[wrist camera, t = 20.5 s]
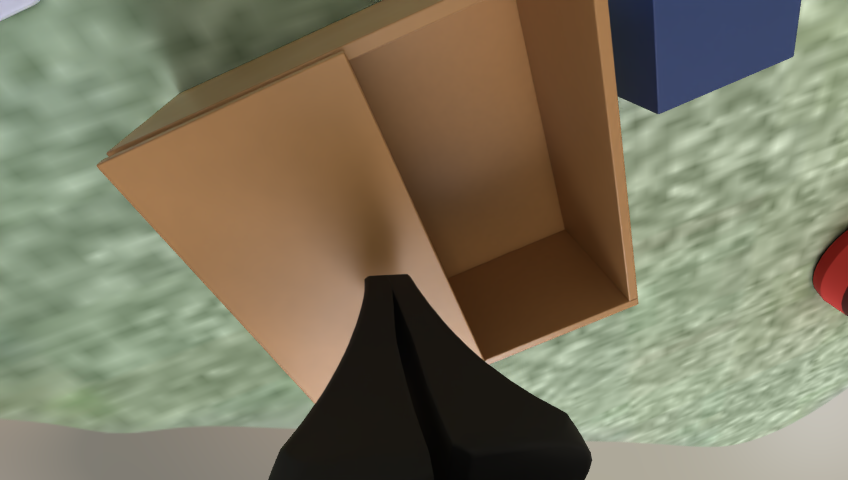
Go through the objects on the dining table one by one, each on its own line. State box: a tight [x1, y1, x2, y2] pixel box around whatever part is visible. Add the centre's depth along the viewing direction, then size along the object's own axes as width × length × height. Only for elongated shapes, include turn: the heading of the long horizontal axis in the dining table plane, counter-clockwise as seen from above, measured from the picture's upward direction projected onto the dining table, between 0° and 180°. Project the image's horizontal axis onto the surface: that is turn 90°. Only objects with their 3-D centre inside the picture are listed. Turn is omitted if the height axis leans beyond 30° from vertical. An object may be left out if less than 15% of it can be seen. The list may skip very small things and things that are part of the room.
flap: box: [97, 51, 485, 403], centre depth 14 cm, size 7×14×1 cm, turn 21°
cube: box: [608, 0, 801, 114], centre depth 16 cm, size 5×5×5 cm
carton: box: [107, 0, 638, 364], centre depth 17 cm, size 14×14×6 cm
